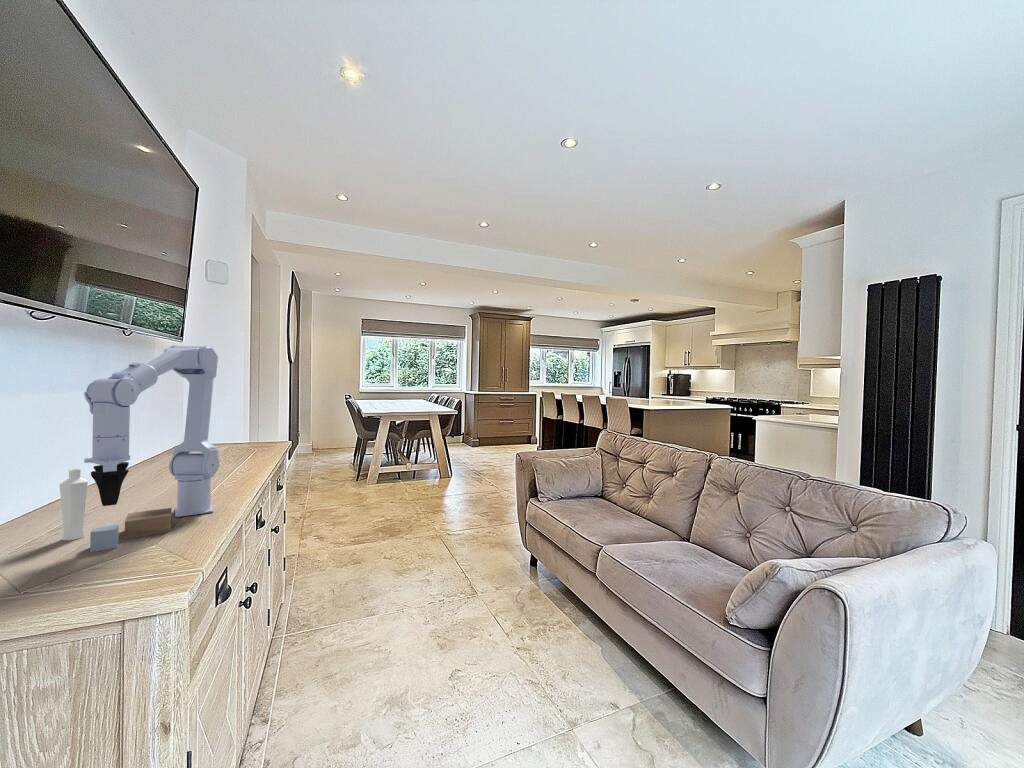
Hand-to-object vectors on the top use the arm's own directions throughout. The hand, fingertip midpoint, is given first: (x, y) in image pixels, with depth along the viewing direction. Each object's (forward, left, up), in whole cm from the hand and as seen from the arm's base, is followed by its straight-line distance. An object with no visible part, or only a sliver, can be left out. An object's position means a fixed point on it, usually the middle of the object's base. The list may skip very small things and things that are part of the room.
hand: (110, 501), depth 92 cm
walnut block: (-8, +6, -10) cm, 14 cm away
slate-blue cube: (0, -1, -10) cm, 10 cm away
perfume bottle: (-12, -7, -10) cm, 17 cm away
